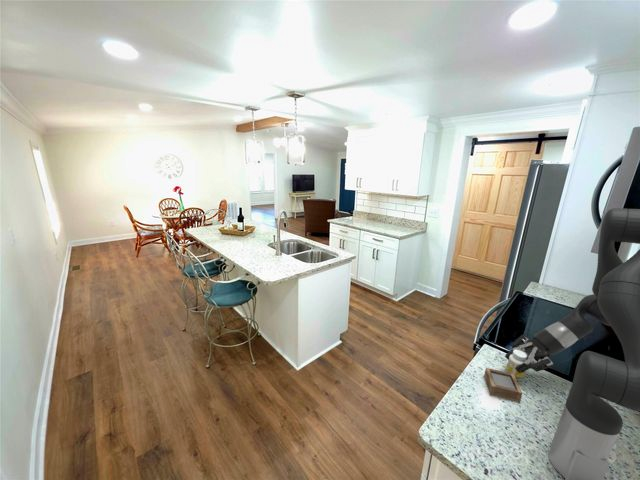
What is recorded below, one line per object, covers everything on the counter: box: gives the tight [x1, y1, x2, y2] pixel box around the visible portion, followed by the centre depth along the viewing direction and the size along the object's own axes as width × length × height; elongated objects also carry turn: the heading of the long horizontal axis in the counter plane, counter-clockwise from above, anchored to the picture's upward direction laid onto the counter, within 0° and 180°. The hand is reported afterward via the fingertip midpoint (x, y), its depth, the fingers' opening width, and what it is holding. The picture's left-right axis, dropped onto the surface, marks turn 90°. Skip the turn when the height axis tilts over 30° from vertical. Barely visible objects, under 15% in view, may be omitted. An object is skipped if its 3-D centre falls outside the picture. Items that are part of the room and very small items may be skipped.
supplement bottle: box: [505, 350, 528, 381], centre depth 93 cm, size 5×5×10 cm
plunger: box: [491, 373, 515, 389], centre depth 89 cm, size 6×6×1 cm
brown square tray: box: [483, 367, 523, 404], centre depth 89 cm, size 8×8×4 cm
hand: (511, 364), depth 94 cm, fingers closed on supplement bottle, 5 cm apart
